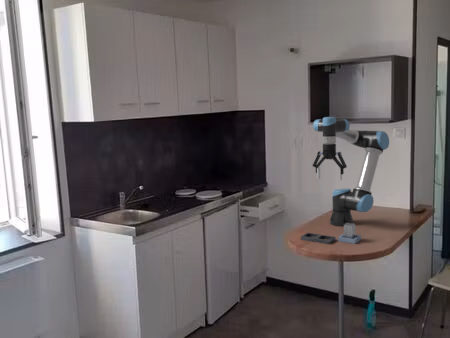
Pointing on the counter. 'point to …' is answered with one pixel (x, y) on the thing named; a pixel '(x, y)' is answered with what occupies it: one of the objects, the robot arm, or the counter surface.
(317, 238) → the rack frame
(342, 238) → the parts tray
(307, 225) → the counter surface
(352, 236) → the grey rectangular block
